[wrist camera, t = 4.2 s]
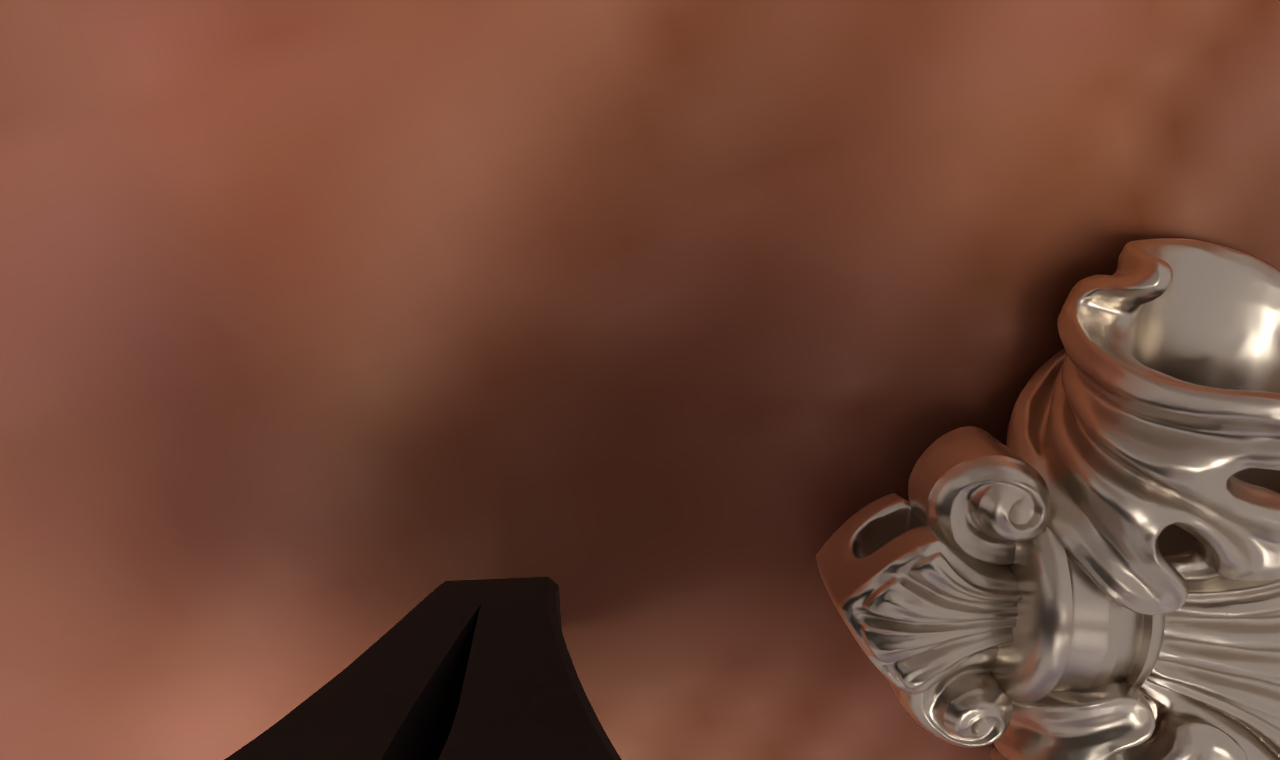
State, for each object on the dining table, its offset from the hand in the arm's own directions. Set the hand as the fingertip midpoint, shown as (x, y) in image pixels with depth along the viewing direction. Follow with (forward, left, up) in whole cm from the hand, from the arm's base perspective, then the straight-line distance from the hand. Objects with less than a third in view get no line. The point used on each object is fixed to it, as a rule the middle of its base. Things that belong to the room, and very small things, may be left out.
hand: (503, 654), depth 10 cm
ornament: (+1, -7, -2) cm, 7 cm away
